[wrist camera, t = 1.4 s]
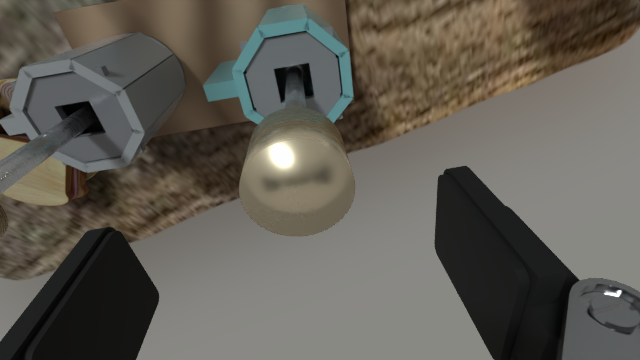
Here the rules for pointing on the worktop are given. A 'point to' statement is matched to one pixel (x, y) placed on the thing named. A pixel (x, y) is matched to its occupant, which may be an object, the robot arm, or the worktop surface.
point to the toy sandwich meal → (39, 167)
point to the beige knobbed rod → (46, 147)
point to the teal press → (286, 65)
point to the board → (192, 42)
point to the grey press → (100, 97)
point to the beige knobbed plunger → (296, 164)
